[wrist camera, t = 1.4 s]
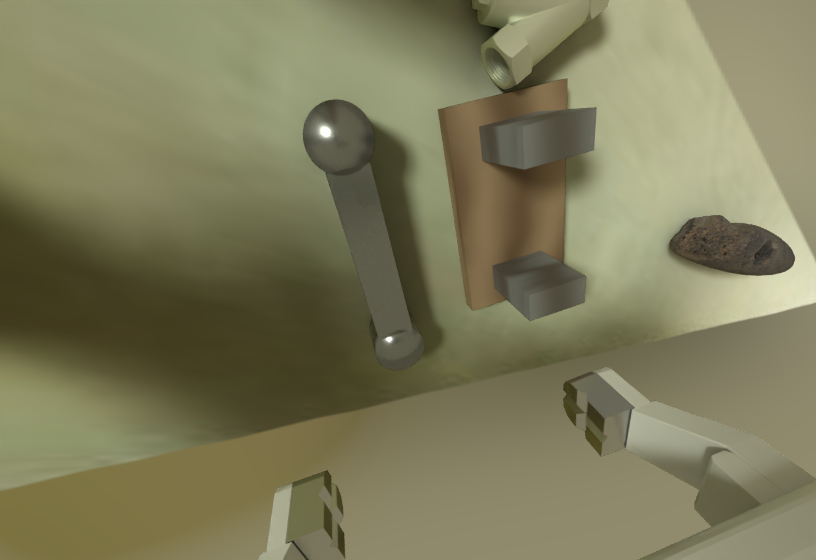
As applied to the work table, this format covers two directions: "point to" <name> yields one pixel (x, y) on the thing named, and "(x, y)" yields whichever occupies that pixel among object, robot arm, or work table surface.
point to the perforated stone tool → (732, 247)
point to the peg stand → (515, 195)
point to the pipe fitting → (528, 32)
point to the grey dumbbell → (364, 225)
